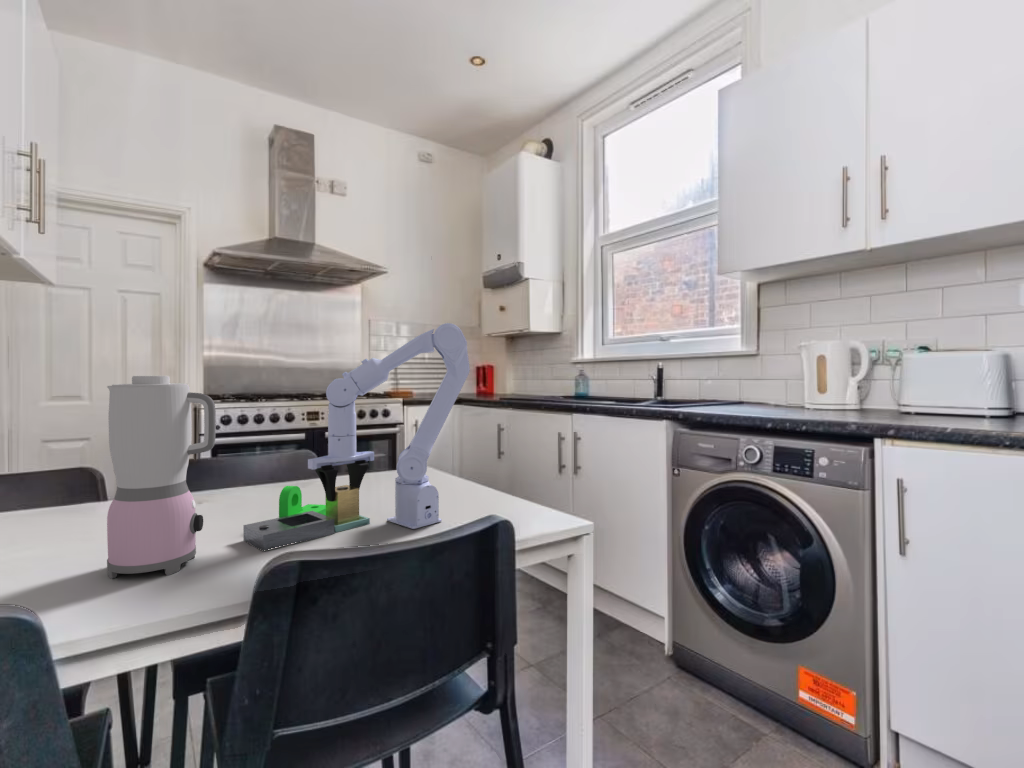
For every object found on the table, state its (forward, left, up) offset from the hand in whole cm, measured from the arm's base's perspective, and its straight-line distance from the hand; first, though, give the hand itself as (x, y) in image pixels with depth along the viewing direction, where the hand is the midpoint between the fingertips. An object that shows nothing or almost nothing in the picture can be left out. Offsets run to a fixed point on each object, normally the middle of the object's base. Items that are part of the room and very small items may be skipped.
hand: (342, 498), depth 110 cm
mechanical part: (+9, +3, -6) cm, 11 cm away
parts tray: (0, 0, -6) cm, 6 cm away
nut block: (0, 0, -5) cm, 5 cm away
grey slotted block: (0, +12, -6) cm, 13 cm away
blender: (+1, +33, -6) cm, 33 cm away
